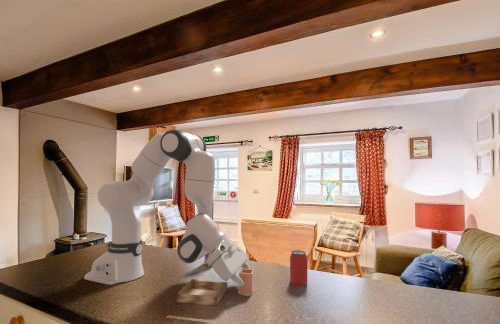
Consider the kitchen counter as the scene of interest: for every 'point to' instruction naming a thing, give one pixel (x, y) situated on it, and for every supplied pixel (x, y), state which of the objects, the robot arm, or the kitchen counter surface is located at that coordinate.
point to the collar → (247, 281)
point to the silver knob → (248, 294)
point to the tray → (202, 292)
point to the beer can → (298, 268)
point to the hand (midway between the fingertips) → (247, 279)
